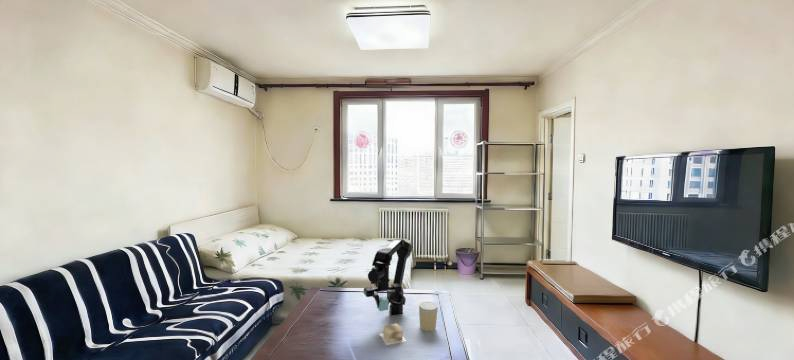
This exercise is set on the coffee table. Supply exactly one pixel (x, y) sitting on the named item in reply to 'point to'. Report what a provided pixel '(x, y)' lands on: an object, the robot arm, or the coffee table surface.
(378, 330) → the coffee table surface
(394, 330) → the maple brick
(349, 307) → the coffee table surface
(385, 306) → the teal block
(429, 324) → the coffee cup
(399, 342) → the baseplate
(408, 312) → the coffee table surface
